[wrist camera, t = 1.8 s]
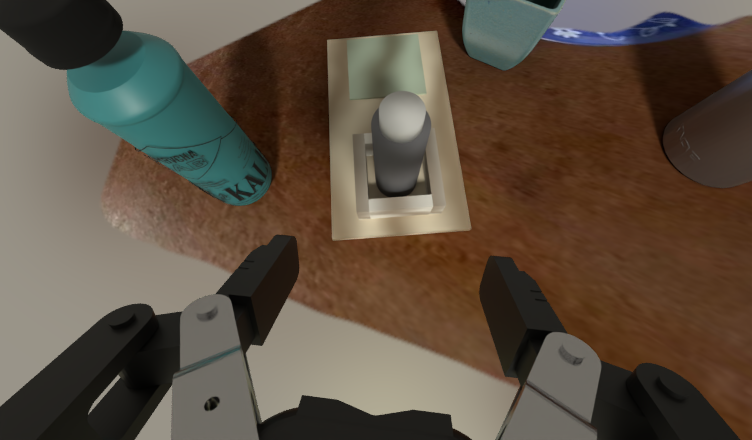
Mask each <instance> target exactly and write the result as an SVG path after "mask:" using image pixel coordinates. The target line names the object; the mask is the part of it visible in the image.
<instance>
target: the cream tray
mask: <svg viewBox="0 0 752 440" xmlns="http://www.w3.org/2000/svg"><path fill="white" fill-rule="evenodd" d="M327 52H328V92H329V133H330V173H331V213H332V239H333V241H335V240H348V239H362V238H375V237H388V236H402V235H415V234H428V233H441V232H455V231H468V230H470V229H471V224H470V218H469V212H468V206H467V201H466V195H465V189H464V183H463V178H462V172H461V166H460V161H459V155H458V149H457V143H456V138H455V132H454V126H453V120H452V115H451V109H450V103H449V97H448V92H447V86H446V80H445V74H444V69H443V63H442V57H441V51H440V46H439V40H438V34H437V31H428V32H416V33H404V34H392V35H380V36H369V37H357V38H345V39H333V40H327ZM397 91H408V92H411V93H414V94H416V95H417V96H419V97H420V98H421V99H422V101H423V102H424V104H425V107H426V111H427V112H428V114H429V116H430V119H431V131H430V135H429V138H428V142H427V146H426V150H425V153H424V157H423V161H422V165H421V168H420V172H419V176H418V179H417V183H416V186H415V188H414V190H413V191H412V192H411V193H410V194H409V195H407V196H404V197H391V198H390V197H387V196H385V195H384V194H382V193H381V192H380V191H379V189H378V187H377V185H376V180H375V168H374V155H373V143H372V131H371V121H372V117H373V115H374V113H375V111H376V110H377V109H378V108H379V106H380V103H381V102H382V100H383V99H384V98H385V97H386V96H387V95H389V94H391V93H393V92H397Z"/></svg>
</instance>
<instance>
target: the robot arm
mask: <svg viewBox="0 0 752 440" xmlns="http://www.w3.org/2000/svg"><path fill="white" fill-rule="evenodd" d="M663 146H664V149H665V152H666V154H667V156H668V158H669V160H670V161H671V162H672V163H673V165H674V166H675V167H676V168H677V169H678V170H679V171H680V172H681V173H683V174H684V175H685V176H687V177H689V178H690V179H692V180H694V181H696V182H698V183H700V184H703V185H707V186H710V187H717V188H728V187H734V186H737V185H740V184H743V183H747V182H750V181H752V70H750V71H749V72H747V73H746V74H744V75H742V76H741V77H739V78H738V79H736V80H734V81H733V82H731V83H730V84H728V85H726V86H725V87H723V88H722V89H720V90H719V91H717V92H715V93H714V94H712V95H710V96H709V97H707V98H706V99H704V100H702V101H701V102H699V103H698V104H696V105H694V106H693V107H691V108H690V109H688V110H686V111H685V112H683V113H682V114H680V115H679V116H677V117H675V118H674V119H673V120H671V121H670V122H669V123H668V125H667V126H666V128H665V130H664V134H663ZM298 274H299V259H298V250H297V241H296V238H295V236H286V235H275V236H274V237H273V239H272V240H271V241H270V243H269V244H268V245H262V246H260V247H258V248H257V249H255V250H254V251H252V252H251V253H250V254H249V255H248V256H247V258H246V259H245V260H244V262H242V263H241V265H240V266H239V267H238V269H236V270H235V272H234V273H233V274H232V275H231V276H230V277H229V279H228V280H227V281H226V282H225V283H224V285H223V286H222V287H221V288H220V289H219V290H218V292H217V293H216V294H214V295H208V296H205V297H202V298H199V299H197V300H195V301H194V302H192V303H191V304H189V305H188V306H187V307H186V308H185V309H184V311H182V312H176V313H169V314H161V315H155V313H154V311H153V309H152V308H151V306H149V305H147V304H132V305H128V306H124V307H121V308H119V309H116V310H115V311H112V312H111V313H109V314H107V315H106V316H104V317H103V318H102V319H100V320H99V321H98V322H97V323H96V324H95V325H93V326H92V327H91V328H90V329H89V330H88V331H87V332H85V333H84V334H83V335H82V336H81V337H80V338H78V339H77V340H76V341H75V342H74V343H73V344H72V345H70V346H69V347H68V348H67V349H66V350H65V351H64V352H62V353H61V354H60V355H59V356H58V357H57V358H56V359H54V360H53V361H52V362H51V363H50V364H49V365H48V366H46V367H45V368H44V369H43V370H42V371H41V372H40V373H38V374H37V375H36V376H35V377H34V378H33V379H31V380H30V381H29V382H28V383H27V384H26V385H25V386H23V387H22V388H21V389H20V390H19V391H18V392H17V393H15V394H14V395H13V396H12V397H11V398H10V399H9V400H7V401H6V402H5V403H4V404H3V405H2V406H1V407H0V440H135V438H136V437H137V435H138V434H139V432H140V431H141V429H142V428H143V426H144V425H145V424H146V422H147V421H148V419H149V418H150V416H151V415H152V413H153V412H154V410H155V409H156V407H157V406H158V404H159V403H160V402H161V400H162V399H163V397H164V396H165V394H166V393H167V391H168V390H169V388H170V387H171V385H172V425H171V427H172V429H171V440H472V439H470V438H469V437H468V436H466V435H465V434H463V433H461V432H459V431H457V430H455V429H453V428H452V422H451V415H449V414H441V413H434V412H426V411H418V410H410V411H403V412H397V413H390V414H385V415H377V416H375V415H370V414H368V413H366V412H364V411H362V410H359V409H357V408H355V407H353V406H350V405H348V404H346V403H344V402H341V401H339V400H334V399H327V398H320V397H312V396H304V395H302V397H301V401H300V404H299V407H298V408H293V409H289V410H286V411H283V412H281V413H278V414H276V415H274V416H272V417H270V418H268V419H267V420H265V421H264V422H262V420H261V417H260V413H259V409H258V405H257V400H256V396H255V391H254V387H253V383H252V378H251V374H250V369H249V365H248V361H247V356H246V352H247V350H248V348H249V347H250V345H251V344H252V345H260V346H262V345H263V343H264V341H265V339H266V338H267V336H268V334H269V332H270V330H271V328H272V326H273V324H274V322H275V320H276V318H277V316H278V315H279V313H280V311H281V309H282V307H283V305H284V303H285V301H286V299H287V297H288V295H289V294H290V292H291V290H292V288H293V286H294V284H295V282H296V280H297V277H298ZM541 292H542V291H541V290H540V288H539V286H538V285H537V283H536V281H535V280H534V279H532V278H531V277H530V276H529V275H528V274H527V273H525V272H524V271H519V270H518V268H517V266H516V265H515V263H514V261H513V259H512V258H510V257H499V256H490V257H489V259H488V261H487V265H486V268H485V271H484V274H483V277H482V281H481V284H480V291H479V294H480V301H481V304H482V307H483V310H484V313H485V316H486V319H487V322H488V325H489V328H490V332H491V335H492V338H493V341H494V344H495V347H496V350H497V353H498V356H499V359H500V362H501V366H502V369H503V372H504V375H505V376H506V377H514V378H518V380H519V382H520V387H519V389H518V391H517V394H516V396H515V398H514V400H513V402H512V404H511V407H510V409H509V411H508V413H507V415H506V418H505V420H504V422H503V424H502V426H501V429H500V431H499V433H498V435H497V437H496V439H495V440H740V439H739V438H738V436H737V435H736V434H735V433H734V432H733V431H732V429H731V428H730V427H729V426H728V425H727V424H726V422H725V421H724V420H723V419H722V418H721V416H720V415H719V414H718V413H717V412H716V411H715V409H714V408H713V407H712V406H711V405H710V404H709V402H708V401H707V400H706V399H705V398H704V397H703V395H702V394H701V393H700V392H699V391H698V390H697V389H696V388H695V387H694V386H693V385H692V384H691V383H689V382H688V381H687V380H685V379H684V378H683V377H681V376H680V375H678V374H676V373H675V372H673V371H671V370H669V369H667V368H665V367H662V366H659V365H656V364H652V363H642V364H640V365H638V366H637V368H636V369H635V370H634V371H633V372H631V371H628V370H625V369H623V368H620V367H617V366H614V365H611V364H609V363H606V362H603V361H601V360H599V358H598V356H597V354H596V353H595V352H594V351H593V350H592V349H591V348H590V347H589V346H588V345H587V344H586V343H584V342H583V341H581V340H580V339H578V338H576V337H574V336H572V335H569V334H567V332H566V330H565V329H564V327H563V325H562V324H561V322H560V320H559V319H558V317H557V316H556V314H555V312H554V311H553V309H552V307H551V306H550V304H549V303H548V302H547V299H546V298H545V296H544V294H543V293H541ZM117 375H119V376H120V379H119V380H118V381H117V382H116V383H115V385H114V386H113V387H112V388H111V389H110V391H109V392H108V393H107V394H106V395H105V396H104V397H103V399H102V400H101V401H100V402H99V403H98V404H97V406H96V407H95V408H94V409H93V410H92V411H91V412H90V414H89V415H88V412H89V410H90V408H91V406H92V404H93V403H94V401H95V400H96V399H97V398H98V397H99V396H100V394H101V393H102V392H103V391H104V390H105V389H106V388H107V387H108V385H109V384H110V383H111V382H112V381H113V380H114V379H115V377H116V376H117Z"/></svg>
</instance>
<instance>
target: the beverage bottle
mask: <svg viewBox="0 0 752 440" xmlns="http://www.w3.org/2000/svg"><path fill="white" fill-rule="evenodd" d="M122 23H123V22H122V19H121V17H120V15H119V14H118V12H117V11H116V10H115V9H114V8H113V7H112V6H111V5H110V4H109V3H108V2H107V1H106V0H0V29H1V30H2V31H3V32H5V33H6V34H7V35H9V36H10V37H11V38H12V39H14V40H15V41H16V42H18V43H19V44H20V45H21V46H23V47H24V48H25V49H26V50H27V51H28V52H29V53H30V54H31V55H33V56H34V57H36V58H37V59H38V60H40V61H42V62H43V63H44V64H46V65H47V66H49V67H51V68H55V69H60V70H67V84H68V90H69V95H70V98H71V101H72V103H73V105H74V106H75V107H76V108H77V110H78V111H79V112H80V113H81V114H83V115H84V116H85V117H87V118H89V119H90V120H92V121H94V122H97V123H99V124H101V125H102V126H104V127H105V128H107V129H108V130H110V131H112V132H113V133H115V134H116V135H118V136H120V137H121V138H123V139H124V140H126V141H127V142H129V143H131V144H132V145H133V146H135V150H136V148H138V149H139V151H142V152H144V153H146V154H147V155H149V156H150V157H151V158H152V159H153V158H154V160H153V161H155V160H156V161H155V162H158V161H159V162H160V163H162V164H163V165H165V166H167V167H168V169H169V168H170V169H171V170H173V171H175V172H176V173H178V175H181V176H183V177H184V178H186V179H188V180H189V181H190V182H191V183H192V185H193V184H194V185H195V186H197V187H199V188H200V190H202V191H204V190H205V191H204V192H206V191H207V192H208V193H207V192H206V193H207V194H209V195H211V196H212V195H213V196H212V197H214V196H215V198H217V199H219V200H221V201H222V202H225V203H226V204H227V203H228V204H231V205H232V206H234V205H235V206H241V205H248V204H251V203H253V202H255V201H257V200H258V199H260V198H261V197H262V196H263V195H264V194H265V193H266V191H267V190H268V188H269V186H270V183H271V178H272V171H271V168H270V166H271V165H269V162H267V160H266V159H265V158H266V157H265V158H264V157H263V155H262V154H263V153H262V154H261V151H260V150H259V149H258V148H256V147H257V145H256V144H253V143H254V142H253V140H252V142H251V141H250V139H249V138H248V137H249V135H248V137H247V136H246V133H244V132H245V130H244V132H243V131H242V129H241V128H240V127H239V126H238V125H237V122H235V121H234V120H233V119H232V118H231V117H230V116H229V115H228V114H227V112H226V111H225V110H224V109H223V108H222V106H221V105H220V104H219V103H218V102H217V100H216V99H215V98H214V97H213V96H212V94H211V93H210V92H209V91H208V90H207V88H206V87H205V86H204V85H203V84H202V82H201V81H200V80H199V79H198V78H197V77H196V75H195V74H194V73H193V72H192V71H191V69H190V68H189V67H188V66H187V65H186V63H185V62H184V61H183V60H182V58H181V57H180V55H179V53H178V52H177V51H176V50H175V49H174V47H173V46H172V45H171V44H169V43H168V42H166V41H165V40H163V39H161V38H159V37H157V36H153V35H150V34H145V33H139V32H131V31H122V30H123V24H122ZM233 118H234V117H233ZM235 120H236V119H235ZM240 126H241V125H240ZM255 145H256V147H255ZM136 151H137V150H136ZM259 151H260V152H259ZM149 156H148V157H149ZM146 157H147V156H146ZM150 157H149V159H150ZM158 164H159V163H158ZM162 167H163V166H162ZM165 168H166V167H165ZM166 169H167V168H166ZM170 169H169V170H170ZM171 172H172V171H171ZM201 188H202V189H201ZM203 189H204V190H203ZM219 200H218V201H219ZM221 201H220V202H221Z"/></svg>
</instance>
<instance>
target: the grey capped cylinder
mask: <svg viewBox="0 0 752 440" xmlns="http://www.w3.org/2000/svg"><path fill="white" fill-rule="evenodd" d="M371 131H372V143H373V155H374V168H375V180H376V185H377V187H378V189H379V191H380V192H381V193H382V194H384V195H385V196H387V197H390V198H391V197H404V196H407V195H409V194H410V193H411V192H412V191H413V190H414V188H415V186H416V183H417V179H418V176H419V172H420V168H421V165H422V161H423V157H424V153H425V150H426V146H427V142H428V138H429V135H430V131H431V119H430V116H429V114H428V112H427V111H426V107H425V104H424V102H423V101H422V99H421V98H420V97H419V96H417V95H416V94H414V93H411V92H408V91H397V92H393V93H391V94H389V95H387V96H386V97H385V98H384V99H383V100H382V102H381V103H380V106H379V108H378V109H377V110H376V111H375V113H374V115H373V117H372V121H371Z"/></svg>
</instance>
